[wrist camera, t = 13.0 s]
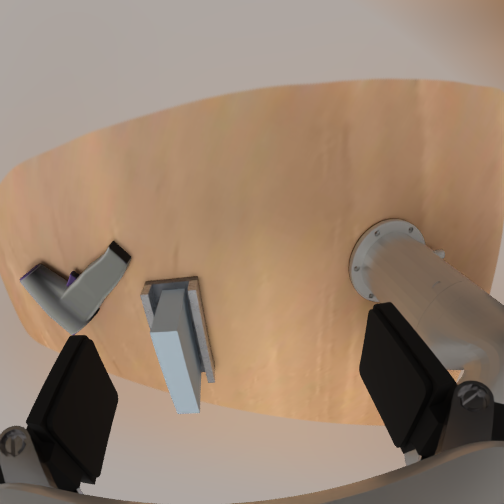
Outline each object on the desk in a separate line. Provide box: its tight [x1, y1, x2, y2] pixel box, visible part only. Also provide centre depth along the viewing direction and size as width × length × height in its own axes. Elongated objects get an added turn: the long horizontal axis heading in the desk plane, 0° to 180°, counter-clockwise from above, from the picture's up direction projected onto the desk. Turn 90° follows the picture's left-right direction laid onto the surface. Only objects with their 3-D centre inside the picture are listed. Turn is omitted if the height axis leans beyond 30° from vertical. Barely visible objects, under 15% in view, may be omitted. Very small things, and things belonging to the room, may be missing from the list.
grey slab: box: [150, 289, 201, 414], centre depth 38 cm, size 14×3×9 cm, turn 4°
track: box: [140, 276, 215, 383], centre depth 41 cm, size 16×7×4 cm, turn 4°
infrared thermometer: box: [20, 241, 131, 335], centre depth 36 cm, size 5×12×15 cm
